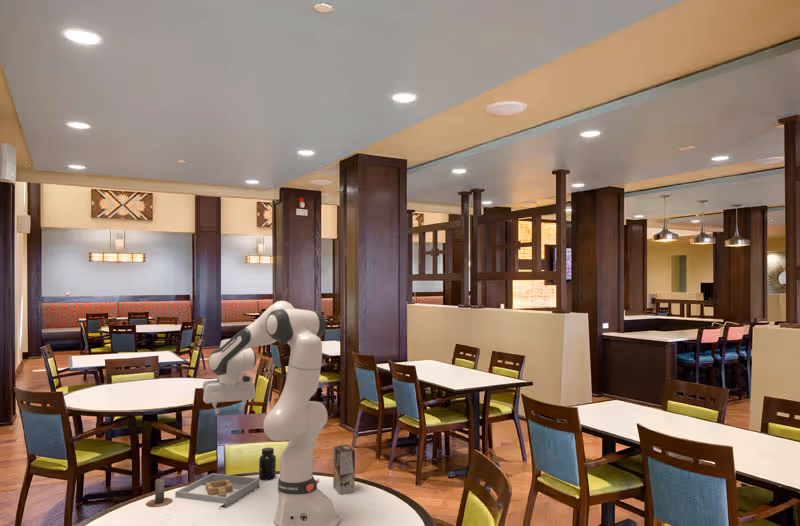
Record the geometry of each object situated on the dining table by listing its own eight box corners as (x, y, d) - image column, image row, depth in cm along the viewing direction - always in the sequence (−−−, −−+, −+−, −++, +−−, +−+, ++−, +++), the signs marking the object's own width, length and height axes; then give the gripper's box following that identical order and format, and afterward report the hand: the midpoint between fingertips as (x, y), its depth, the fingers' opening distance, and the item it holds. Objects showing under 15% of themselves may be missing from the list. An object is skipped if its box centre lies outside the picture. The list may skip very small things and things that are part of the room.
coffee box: (355, 492, 213) (355, 450, 214) (339, 494, 211) (340, 452, 212) (347, 484, 222) (347, 444, 223) (332, 487, 219) (332, 446, 220)
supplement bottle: (255, 479, 228) (256, 450, 228) (264, 474, 234) (264, 446, 235) (270, 481, 226) (270, 451, 226) (278, 476, 232) (279, 447, 233)
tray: (259, 487, 218) (259, 478, 219) (226, 508, 198) (226, 498, 198) (212, 481, 225) (212, 473, 225) (175, 501, 204) (175, 491, 204)
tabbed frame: (234, 497, 206) (234, 489, 206) (210, 501, 202) (210, 492, 202) (228, 486, 217) (228, 479, 217) (205, 490, 213) (205, 482, 213)
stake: (178, 503, 202) (178, 477, 202) (160, 512, 193) (161, 485, 194) (158, 500, 205) (158, 474, 205) (139, 509, 196) (140, 482, 197)
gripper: (204, 380, 215) (203, 416, 215) (256, 377, 225) (256, 411, 224) (201, 378, 221) (201, 413, 220) (253, 375, 230) (252, 408, 230)
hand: (229, 412), depth 222 cm, fingers open, 8 cm apart
